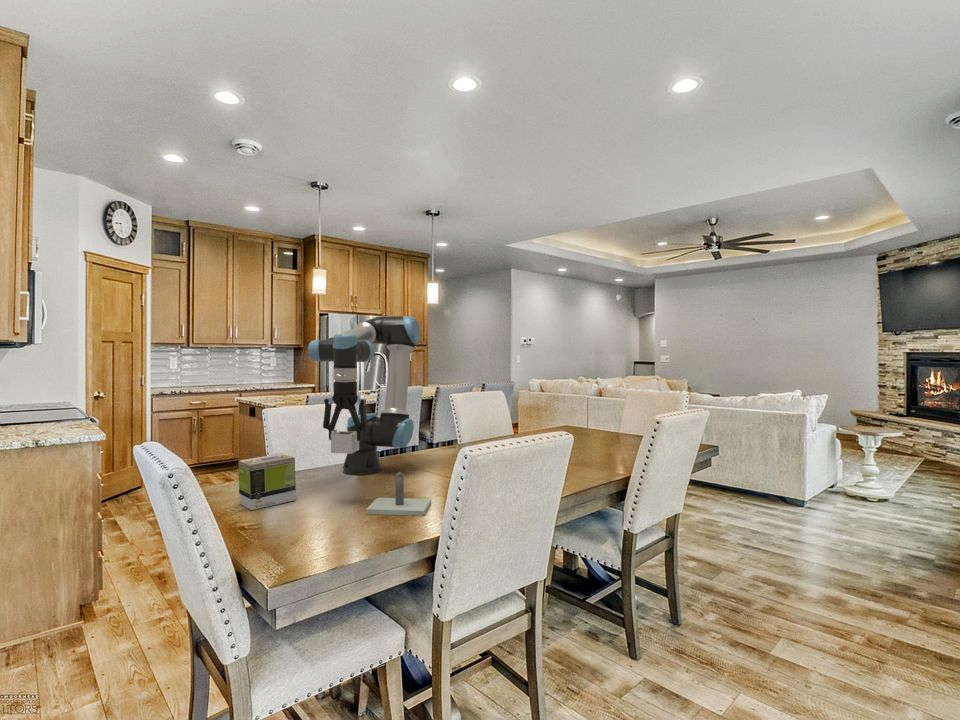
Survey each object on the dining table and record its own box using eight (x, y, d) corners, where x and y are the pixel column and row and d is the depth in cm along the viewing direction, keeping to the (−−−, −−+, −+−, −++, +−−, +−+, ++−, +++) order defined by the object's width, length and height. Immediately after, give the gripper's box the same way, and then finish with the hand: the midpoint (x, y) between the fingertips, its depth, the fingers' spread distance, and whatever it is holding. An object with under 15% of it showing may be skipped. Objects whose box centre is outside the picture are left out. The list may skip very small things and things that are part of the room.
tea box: (283, 494, 180) (283, 452, 180) (296, 501, 173) (296, 457, 172) (238, 504, 170) (237, 459, 169) (250, 511, 162) (249, 464, 162)
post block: (377, 502, 172) (377, 466, 172) (430, 503, 171) (431, 468, 170) (366, 513, 160) (366, 476, 160) (423, 515, 159) (423, 477, 158)
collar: (338, 448, 176) (338, 431, 176) (359, 449, 175) (359, 431, 175) (330, 452, 169) (330, 434, 169) (351, 453, 168) (351, 435, 168)
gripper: (311, 381, 169) (311, 451, 169) (371, 382, 167) (371, 453, 167) (320, 379, 176) (321, 447, 177) (378, 380, 174) (378, 448, 175)
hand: (345, 450), depth 172 cm, fingers closed on collar, 7 cm apart
